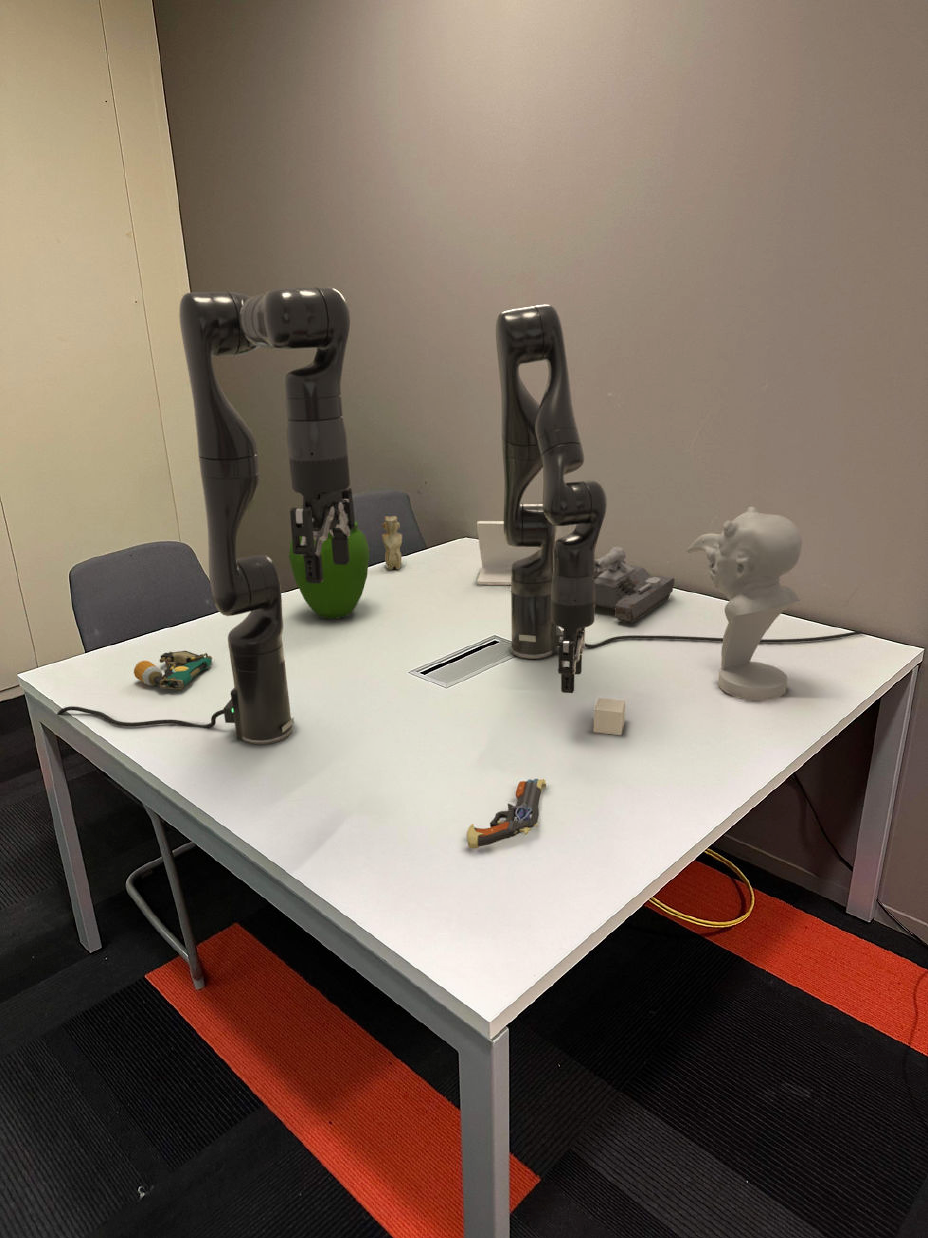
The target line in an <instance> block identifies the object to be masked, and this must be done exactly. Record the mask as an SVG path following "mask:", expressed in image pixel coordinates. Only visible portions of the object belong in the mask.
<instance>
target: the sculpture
mask: <svg viewBox="0 0 928 1238" xmlns="http://www.w3.org/2000/svg"><path fill="white" fill-rule="evenodd" d="M400 527H401V524H400V522H399V521H398V517H397V515H392V516H389V515H388V516H386V515H385V516H384V522H383V523H382V528H383V529H384V531H386V533H383V534H382V535H381V538H382V543H383V546H384V548H385V553H384V561H385V565H386V567H387V570H393V569H395V570H400V569H401V565H402V557H403V556H402V553H401V546H402V543H403V535H402V533H400V532H398V530H399V529H400Z"/></svg>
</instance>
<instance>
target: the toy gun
mask: <svg viewBox="0 0 928 1238" xmlns="http://www.w3.org/2000/svg"><path fill="white" fill-rule="evenodd" d="M544 788H545V789H546V788H547V781H546V779H544V778H541V779H539V778H533V779H531V778H529V779H527V780H523V781H522V780H521V781H519V782H518V783H517V787H516V789H515V798H516V800H517V802H516V804H515V805H513V804H512V803H507V810H501V811H497V812H496V813H495V816H494V818H493V819H492V820H491V821H490V822H489V827H485V828H479V827H475V825H474V824H473V823H472V824H469V827H468V828H467V830H466V841H467V847H468V849H471V850H472V849H474V850H475V849H478V848H481V847H484V846H489V845H492V844H495V843H498V842H500V841H503V840H506V839H511V838H513V837H516V836H518V835H520V834H522V833H523V834H524V835H525V836H528V834H529V832H530V831H532V828H534V827H538V821H539V817H540V809H539V803H540V800H541V794H542V791H543V789H544ZM500 819H505V820H504V821H500Z"/></svg>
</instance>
